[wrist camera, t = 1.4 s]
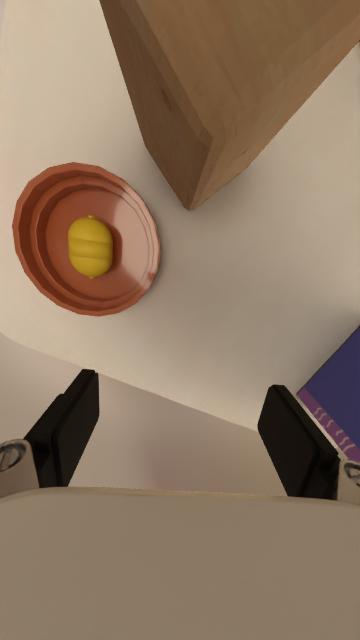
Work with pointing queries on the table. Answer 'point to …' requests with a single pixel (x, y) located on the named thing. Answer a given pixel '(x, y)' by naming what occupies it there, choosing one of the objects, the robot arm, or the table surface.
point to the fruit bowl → (52, 238)
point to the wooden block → (222, 77)
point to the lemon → (90, 246)
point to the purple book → (338, 396)
